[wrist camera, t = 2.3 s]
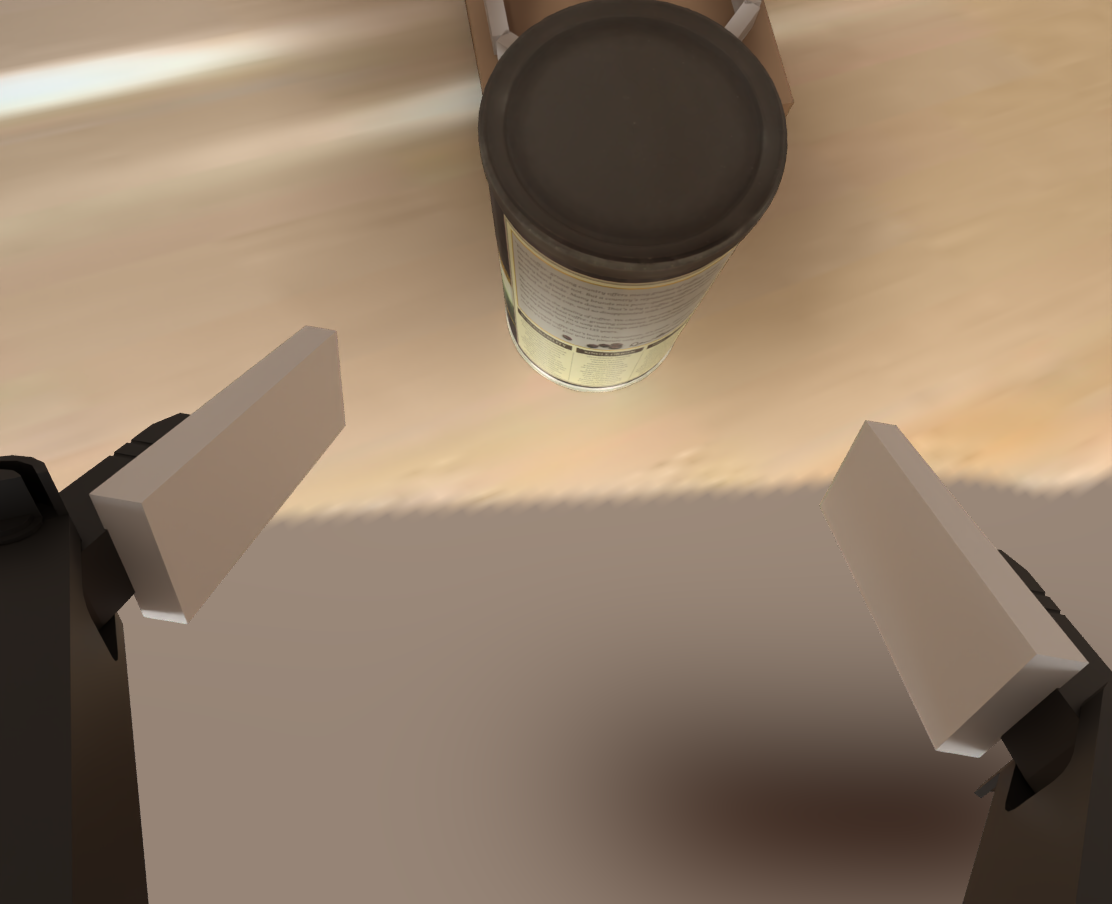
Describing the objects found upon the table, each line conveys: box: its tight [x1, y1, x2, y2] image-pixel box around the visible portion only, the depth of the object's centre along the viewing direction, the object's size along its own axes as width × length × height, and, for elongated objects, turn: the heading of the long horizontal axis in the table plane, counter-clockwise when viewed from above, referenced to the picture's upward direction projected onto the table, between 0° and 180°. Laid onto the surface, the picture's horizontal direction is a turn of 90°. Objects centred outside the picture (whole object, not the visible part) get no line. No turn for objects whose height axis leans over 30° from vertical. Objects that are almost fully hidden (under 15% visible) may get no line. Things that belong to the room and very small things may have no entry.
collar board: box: [465, 0, 794, 117], centre depth 34 cm, size 18×18×3 cm
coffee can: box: [478, 0, 787, 392], centre depth 25 cm, size 10×10×14 cm
